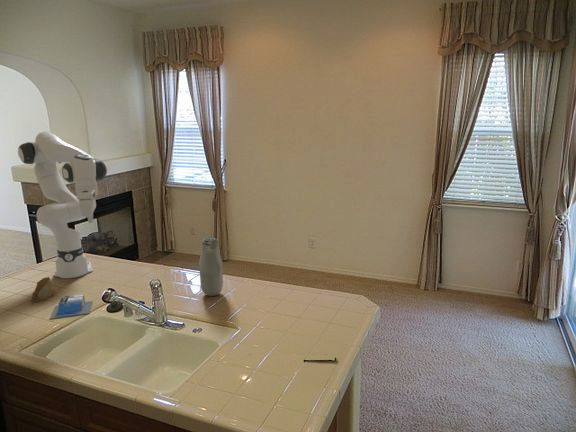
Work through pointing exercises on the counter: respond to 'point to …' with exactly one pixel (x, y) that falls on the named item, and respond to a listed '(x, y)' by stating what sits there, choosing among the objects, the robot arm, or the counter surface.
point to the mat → (84, 310)
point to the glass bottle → (211, 267)
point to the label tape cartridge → (71, 305)
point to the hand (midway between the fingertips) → (91, 221)
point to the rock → (42, 290)
